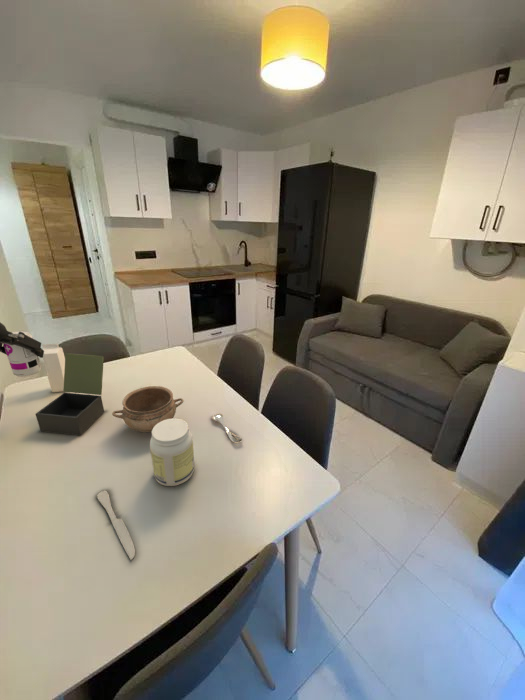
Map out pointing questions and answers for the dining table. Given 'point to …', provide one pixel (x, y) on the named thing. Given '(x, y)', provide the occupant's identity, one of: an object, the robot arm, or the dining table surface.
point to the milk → (54, 366)
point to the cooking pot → (148, 407)
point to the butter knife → (117, 524)
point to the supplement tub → (172, 452)
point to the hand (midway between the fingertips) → (29, 354)
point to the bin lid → (83, 374)
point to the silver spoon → (220, 419)
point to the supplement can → (22, 359)
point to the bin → (70, 413)
